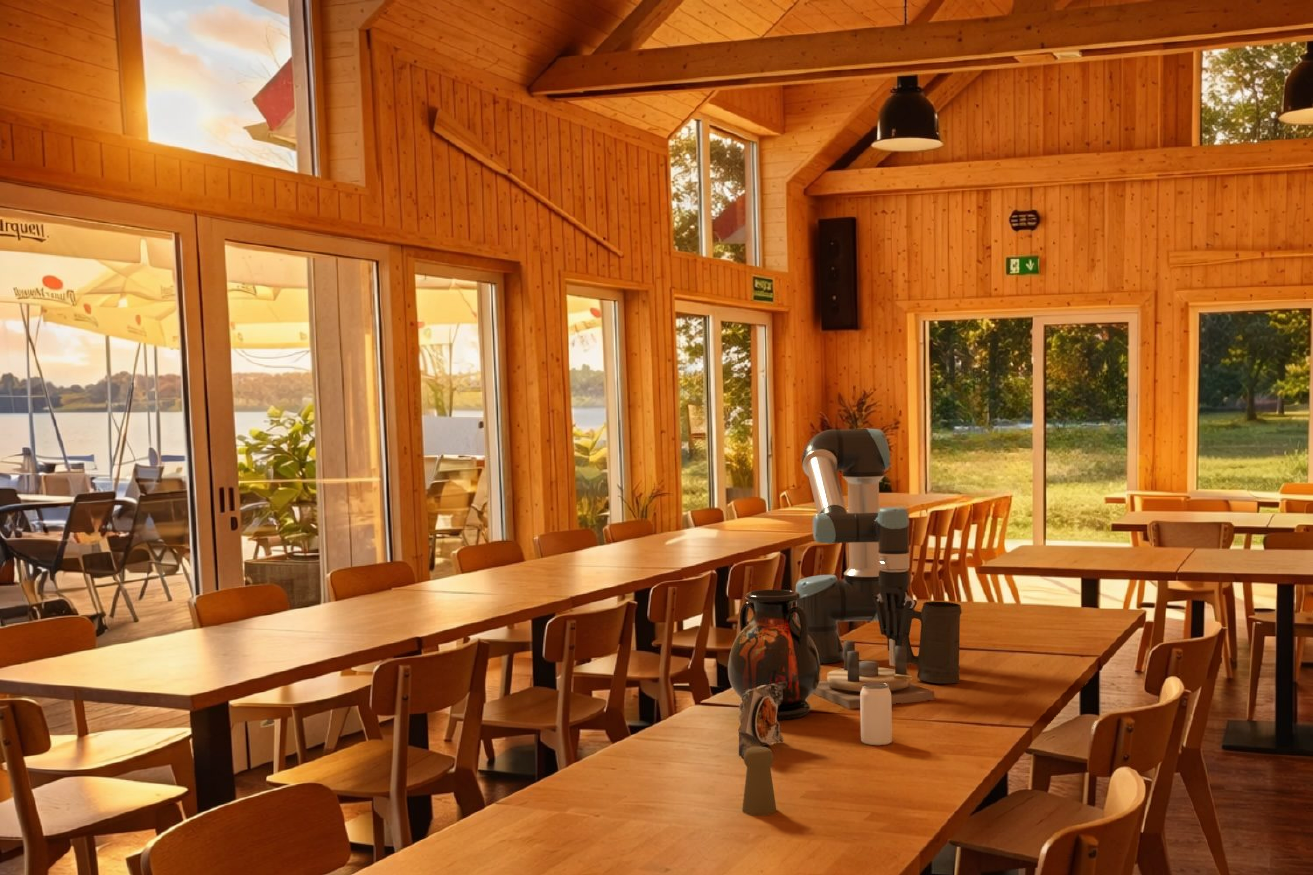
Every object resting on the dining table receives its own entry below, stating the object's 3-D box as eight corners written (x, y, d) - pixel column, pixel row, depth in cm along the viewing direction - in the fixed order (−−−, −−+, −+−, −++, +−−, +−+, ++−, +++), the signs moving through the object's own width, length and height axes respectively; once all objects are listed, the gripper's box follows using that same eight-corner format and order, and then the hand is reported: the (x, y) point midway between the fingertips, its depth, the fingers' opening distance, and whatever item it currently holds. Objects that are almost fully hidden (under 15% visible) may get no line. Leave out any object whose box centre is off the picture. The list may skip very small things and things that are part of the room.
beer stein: (959, 676, 338) (958, 600, 338) (965, 685, 327) (964, 606, 327) (899, 676, 340) (898, 600, 339) (903, 685, 329) (902, 606, 329)
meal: (757, 759, 261) (755, 694, 260) (738, 757, 263) (737, 692, 263) (789, 742, 273) (788, 681, 273) (771, 740, 276) (770, 679, 275)
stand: (805, 690, 325) (804, 680, 325) (885, 682, 333) (885, 673, 333) (849, 708, 303) (849, 699, 303) (934, 699, 311) (934, 690, 311)
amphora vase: (709, 714, 300) (707, 594, 300) (766, 698, 316) (764, 584, 316) (783, 728, 286) (781, 602, 285) (840, 711, 301) (838, 591, 301)
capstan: (825, 675, 329) (824, 639, 329) (905, 674, 327) (905, 639, 327) (829, 691, 309) (828, 654, 309) (915, 691, 307) (914, 653, 307)
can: (894, 739, 274) (893, 682, 274) (889, 746, 268) (888, 689, 268) (863, 737, 277) (862, 681, 276) (858, 744, 270) (857, 687, 270)
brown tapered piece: (739, 805, 230) (738, 744, 230) (773, 804, 230) (772, 742, 230) (744, 816, 224) (743, 752, 224) (779, 814, 224) (778, 751, 224)
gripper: (864, 568, 324) (865, 662, 324) (902, 573, 313) (904, 670, 314) (885, 566, 328) (886, 659, 329) (924, 570, 318) (925, 666, 318)
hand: (895, 664), depth 321 cm, fingers closed
